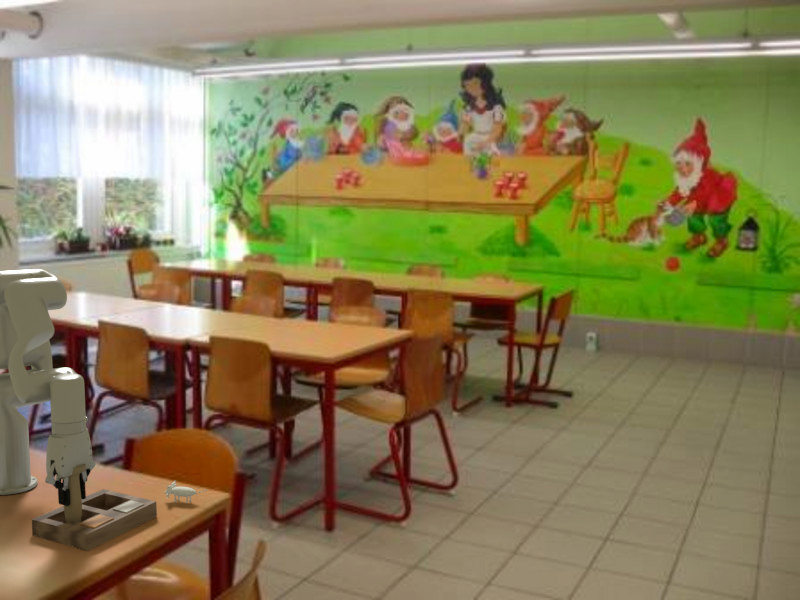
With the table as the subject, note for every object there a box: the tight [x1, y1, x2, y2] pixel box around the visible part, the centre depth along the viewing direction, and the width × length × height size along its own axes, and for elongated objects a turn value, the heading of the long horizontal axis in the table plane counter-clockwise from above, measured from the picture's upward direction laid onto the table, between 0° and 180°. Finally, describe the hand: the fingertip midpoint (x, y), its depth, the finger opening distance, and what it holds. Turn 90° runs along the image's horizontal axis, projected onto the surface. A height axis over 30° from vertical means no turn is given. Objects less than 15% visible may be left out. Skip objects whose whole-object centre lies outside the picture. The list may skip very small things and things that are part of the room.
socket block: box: [31, 488, 158, 552], centre depth 199 cm, size 18×22×4 cm
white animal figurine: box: [164, 480, 208, 504], centre depth 214 cm, size 12×5×5 cm, turn 77°
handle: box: [63, 464, 86, 526], centre depth 194 cm, size 5×6×15 cm
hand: (72, 500), depth 195 cm, fingers closed on handle, 3 cm apart
